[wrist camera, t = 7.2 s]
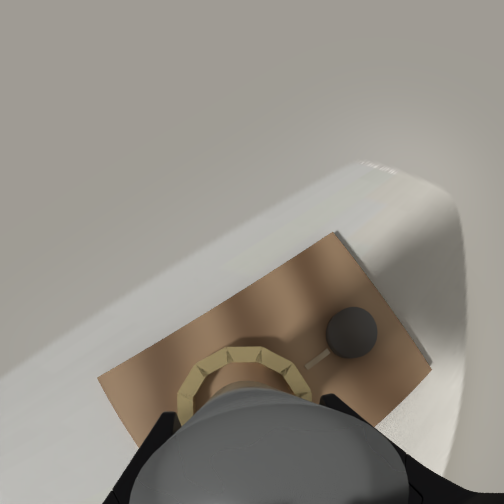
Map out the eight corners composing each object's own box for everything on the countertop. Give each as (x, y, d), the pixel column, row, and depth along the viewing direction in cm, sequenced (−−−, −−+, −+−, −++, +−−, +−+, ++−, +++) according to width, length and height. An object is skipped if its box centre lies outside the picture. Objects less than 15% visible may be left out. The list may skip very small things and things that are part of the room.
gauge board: (329, 236, 24) (336, 225, 22) (426, 370, 20) (439, 368, 18) (101, 377, 19) (91, 377, 17) (208, 526, 15) (206, 536, 13)
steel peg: (304, 432, 14) (437, 524, 3) (231, 471, 13) (226, 627, 2) (262, 365, 15) (333, 345, 4) (188, 403, 14) (78, 467, 3)
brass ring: (328, 382, 19) (334, 382, 18) (269, 483, 16) (271, 489, 15) (220, 325, 20) (219, 322, 19) (159, 427, 17) (154, 430, 16)
